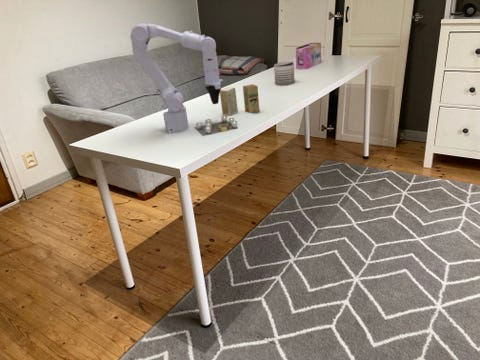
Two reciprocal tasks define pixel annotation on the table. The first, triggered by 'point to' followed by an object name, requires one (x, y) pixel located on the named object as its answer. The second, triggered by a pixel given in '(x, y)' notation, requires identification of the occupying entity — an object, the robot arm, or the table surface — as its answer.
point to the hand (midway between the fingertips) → (215, 103)
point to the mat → (213, 128)
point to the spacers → (209, 124)
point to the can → (284, 73)
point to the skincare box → (228, 101)
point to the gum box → (308, 55)
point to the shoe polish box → (251, 99)
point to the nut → (223, 127)
